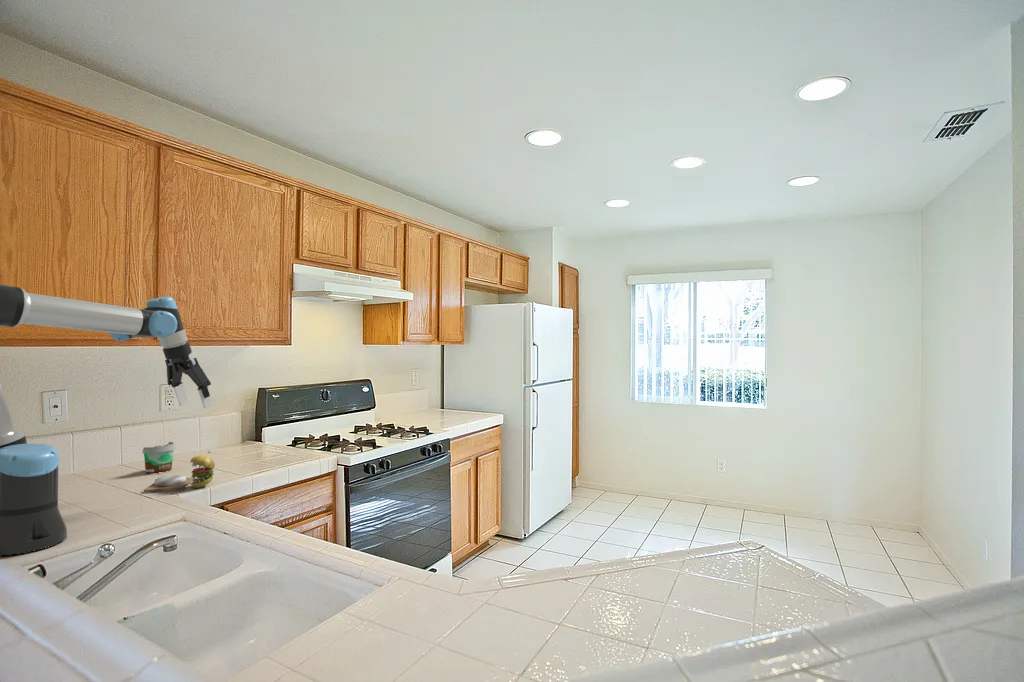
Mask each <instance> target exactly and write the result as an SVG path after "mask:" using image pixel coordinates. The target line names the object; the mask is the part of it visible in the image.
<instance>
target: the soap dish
mask: <svg viewBox="0 0 1024 682" xmlns="http://www.w3.org/2000/svg"><path fill="white" fill-rule="evenodd" d="M192 478H193V477H192V476H191V477H187V476H185V475H182V474H181V475H179V474H176V475H175V474H174V475H167V476H165V475H164V476H162V477H158V478H156V479H154V482H153V483H152V484H150V485H149V486H148V487H146V488H144V489H143V493H144V492H152V493H163V492H162V491H166V492H165V493H167V491H168V492H181V491H183V490H184V488H185V487H186V486H187V487H188V486H190V485H191V484H190V483H191V482H192V481H193V480H194V478H193V479H192ZM189 484H190V485H189ZM187 487H186V488H187ZM186 488H185V489H186Z"/></svg>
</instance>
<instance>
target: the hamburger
mask: <svg viewBox="0 0 1024 682" xmlns="http://www.w3.org/2000/svg"><path fill="white" fill-rule="evenodd" d="M210 453H211V451H210V449H209V450H208V452H207V456H206V455H194V456H193V457H192V458H191V459H190V461H189V462H190V463H192V466H191V467H194V469H192V471H191V477H193V478H194V480H193V482H192V483H191V484H190V486H191V487H192V488H194V489H199V488H203V487H205V486H207V485H208V484H209V483H211V482H212V481H213V478H214V475H215V474H214V472H215V470H214V469H215V466H216V463H215V461H214V459H212V458H211V457H209V456H208V455H209V454H210ZM197 466H198V467H197ZM196 467H197V468H196ZM193 478H192V479H193Z"/></svg>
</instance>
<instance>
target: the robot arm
mask: <svg viewBox="0 0 1024 682" xmlns="http://www.w3.org/2000/svg"><path fill="white" fill-rule="evenodd" d="M181 318H182V317H181V316H180V312H179V308H178V306H177V304H176V301H175V300H174V298H173V297H172V296H169V295H167V296H162V297H155V298H152V299H149V300H147V301H146V307H144V308H142V309H140V308H137V307H130V306H122V305H121V306H120V305H115V304H107V303H101V302H95V301H94V302H93V301H88V300H87V301H86V300H80V299H79V300H78V299H73V298H72V299H71V298H65V297H59V296H51V295H44V294H39V293H38V294H37V293H30V292H27V291H26V290H25V289H24V288H22V287H18V286H14V285H13V286H12V285H7V284H2V283H0V327H7V328H8V327H10V328H17V327H18V326H20V325H29V326H30V325H31V326H32V325H33V326H38V327H39V326H41V327H50V328H51V327H52V328H61V329H70V330H81V331H89V332H100V333H108V334H109V335H110V337H111V338H112V339H113V340H114V341H116V342H118V343H119V342H124V341H130V340H132V339H134V338H135V339H136V338H158V342H159V344H160V347H162V351H163V354H164V357H165V360H164V361H165V365H166V378H167V381H166V382H167V385H168V386H171V387H172V388H173V390H174V393H175V395H176V398H177V401H178V404H179V406H180V407H181V406H184V405H186V404H188V403H190V401H189V398H188V395H187V393H186V389H185V387H184V385H183V383H184V382H183V381H182V379H183V374H185V375H186V376H188V377H189V378H190V379H191V381H192V382H193V383H194V384H195V385H196V386H197V391H198V395H199V397H200V400H201V403H202V406H203V408H204V409H207V408H210V407H211V406H213V405H214V403H213V400H212V397H211V394H210V391H209V388H208V387H209V386H211V385H212V383H211V381H210V378H209V377H208V376H207V375H206V373H205V372H204V370H203V368H202V367H201V366H200V364H199V361H198V359H197V358H196V357H194V358H190V355H191V354H192V353H193V350H192V348H191V344H190V342H188V340H189V339H188V337H187V334H186V333H187V332H186V330H185V327H184V324H183V321H182V319H181ZM59 465H60V459H59V453H58V449H57V448H56V447H54V446H53V445H50V444H45V443H40V444H39V443H38V444H37V443H28V441H27V438H26V435H25V433H24V432H22V431H19V430H16V429H15V426H14V424H13V419H12V417H11V413H10V410H9V406H8V403H7V400H6V398H5V394H4V390H3V387H2V384H1V382H0V555H10V556H13V555H12V554H18V555H21V554H20V553H24V554H28V552H29V553H32V552H31V551H34V550H38V549H41V548H45V547H48V546H51V547H53V546H52V545H54V546H56V545H58V544H57V543H59V542H61V541H62V542H64V541H65V540H66V539H67V537H68V528H67V525H66V522H65V521H64V519H63V516H62V514H61V511H60V509H59ZM64 539H65V540H64ZM63 540H64V541H63ZM62 542H61V543H62ZM55 544H56V545H55ZM59 544H60V543H59ZM48 548H49V547H48ZM45 549H46V548H45ZM38 551H39V550H38ZM34 552H35V551H34Z"/></svg>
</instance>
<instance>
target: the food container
mask: <svg viewBox="0 0 1024 682" xmlns="http://www.w3.org/2000/svg"><path fill="white" fill-rule="evenodd" d="M175 449H176V444H175V442H172V441H169V442H168V443H167V444H163V445H156V446H150V447H149V446H148V447H147V446H146V447H145V446H143V449H142V454H143V457H144V468H145V474H146V473H157V474H160V473H159V472H164V473H167V472H166V471H168V472H170V470H171V469H172V468H173V459H174V451H175ZM171 471H172V470H171Z"/></svg>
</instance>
